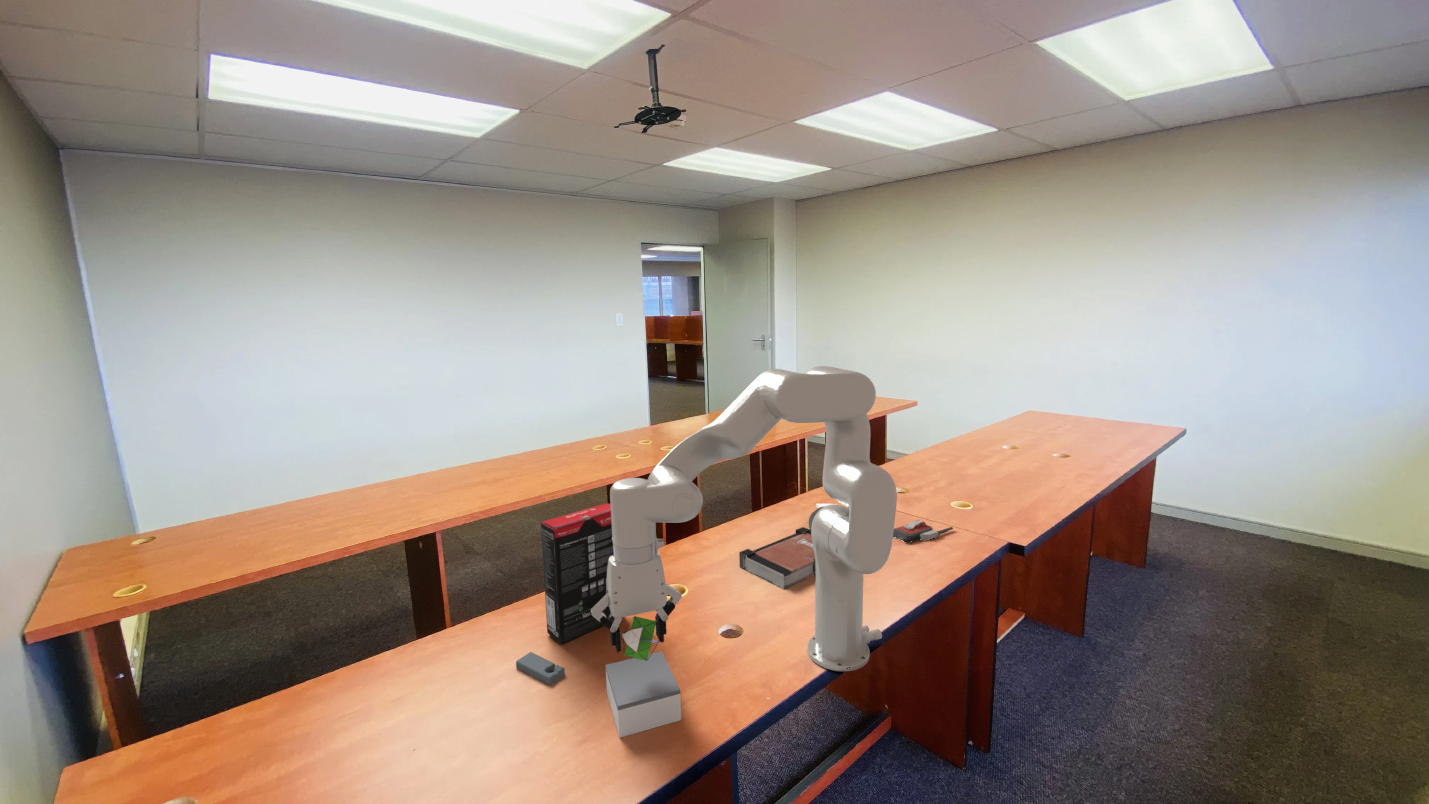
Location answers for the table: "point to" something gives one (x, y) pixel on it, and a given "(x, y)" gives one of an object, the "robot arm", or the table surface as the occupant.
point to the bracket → (540, 668)
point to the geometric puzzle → (639, 638)
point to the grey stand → (642, 694)
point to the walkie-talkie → (917, 531)
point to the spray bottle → (816, 512)
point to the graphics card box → (576, 569)
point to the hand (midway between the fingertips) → (639, 642)
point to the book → (782, 560)
